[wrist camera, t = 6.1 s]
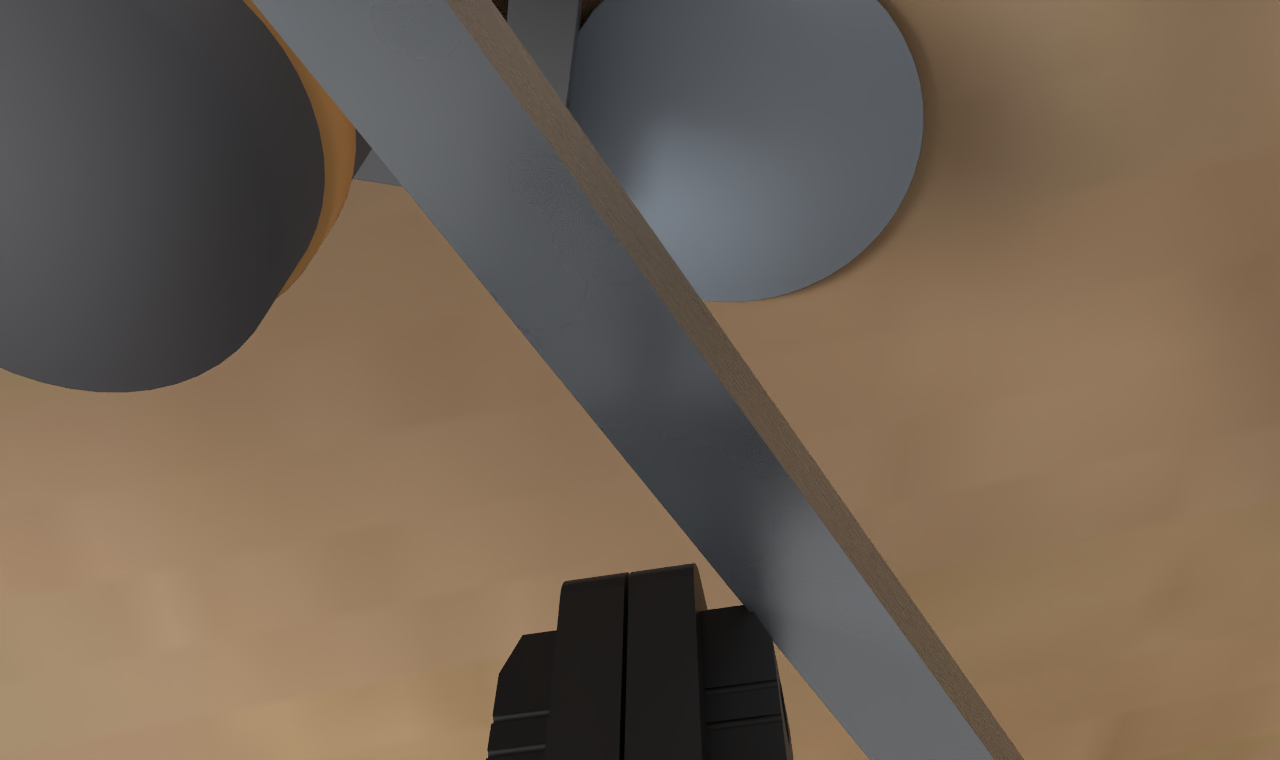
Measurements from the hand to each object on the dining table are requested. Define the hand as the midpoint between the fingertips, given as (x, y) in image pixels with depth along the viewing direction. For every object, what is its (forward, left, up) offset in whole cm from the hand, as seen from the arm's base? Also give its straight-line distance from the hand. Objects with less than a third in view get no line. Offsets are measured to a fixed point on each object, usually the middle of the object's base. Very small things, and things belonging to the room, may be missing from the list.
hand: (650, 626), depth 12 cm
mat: (+1, +1, -14) cm, 14 cm away
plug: (-7, -3, -14) cm, 16 cm away
